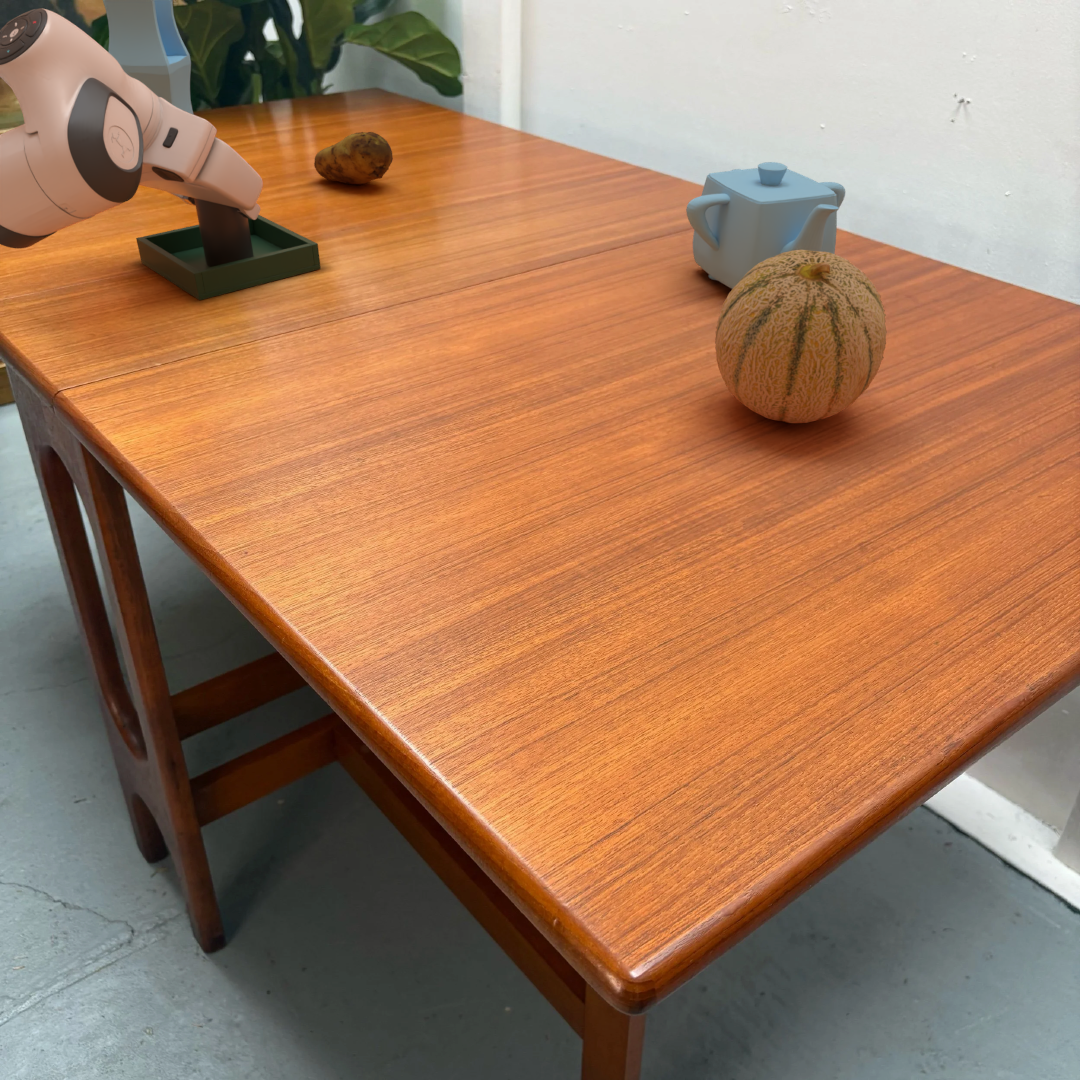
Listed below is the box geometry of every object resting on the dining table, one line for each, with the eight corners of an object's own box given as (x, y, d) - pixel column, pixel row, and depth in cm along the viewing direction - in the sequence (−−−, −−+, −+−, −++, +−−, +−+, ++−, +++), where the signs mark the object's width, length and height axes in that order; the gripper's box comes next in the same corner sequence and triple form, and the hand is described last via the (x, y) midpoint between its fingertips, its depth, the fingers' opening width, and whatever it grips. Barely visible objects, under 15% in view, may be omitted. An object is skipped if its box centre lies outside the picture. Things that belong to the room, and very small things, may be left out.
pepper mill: (219, 273, 119) (199, 160, 112) (198, 260, 123) (177, 149, 115) (262, 262, 122) (245, 151, 115) (240, 250, 126) (222, 142, 118)
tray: (199, 300, 114) (194, 273, 112) (141, 263, 123) (135, 237, 122) (320, 268, 122) (317, 243, 120) (257, 236, 132) (254, 212, 130)
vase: (182, 147, 168) (150, -25, 154) (124, 145, 169) (87, -27, 154) (203, 132, 176) (174, -32, 162) (147, 131, 177) (114, -34, 162)
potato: (358, 171, 157) (353, 116, 152) (403, 191, 149) (399, 133, 144) (310, 180, 153) (303, 124, 148) (354, 201, 144) (348, 142, 140)
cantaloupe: (808, 366, 101) (834, 214, 92) (904, 433, 90) (944, 268, 81) (676, 391, 96) (690, 234, 87) (761, 465, 85) (787, 293, 76)
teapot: (662, 291, 117) (672, 171, 109) (716, 249, 129) (728, 138, 121) (817, 324, 110) (839, 197, 102) (859, 276, 121) (882, 160, 114)
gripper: (62, 148, 111) (152, 215, 123) (194, 178, 102) (277, 246, 115) (86, 97, 111) (174, 169, 124) (220, 122, 103) (299, 196, 115)
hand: (224, 206), depth 119 cm, fingers open, 8 cm apart
